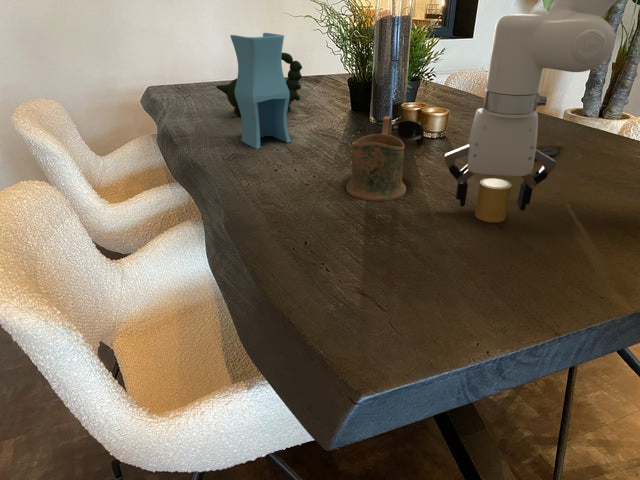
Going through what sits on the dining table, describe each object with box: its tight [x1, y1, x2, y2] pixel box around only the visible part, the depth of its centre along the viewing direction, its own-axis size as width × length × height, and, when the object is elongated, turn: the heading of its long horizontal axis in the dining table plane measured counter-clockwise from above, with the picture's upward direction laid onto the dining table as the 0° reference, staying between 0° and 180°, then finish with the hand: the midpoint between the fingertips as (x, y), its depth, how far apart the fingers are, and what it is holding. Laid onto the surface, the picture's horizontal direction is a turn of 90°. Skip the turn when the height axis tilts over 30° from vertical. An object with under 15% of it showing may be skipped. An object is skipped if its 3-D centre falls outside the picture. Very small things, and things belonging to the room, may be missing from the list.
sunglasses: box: [373, 119, 425, 146], centre depth 120 cm, size 10×12×5 cm
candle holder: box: [474, 177, 512, 223], centre depth 82 cm, size 5×5×6 cm
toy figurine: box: [215, 52, 303, 117], centre depth 145 cm, size 9×19×25 cm
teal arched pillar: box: [229, 32, 292, 150], centre depth 119 cm, size 10×10×25 cm
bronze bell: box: [345, 115, 407, 202], centre depth 95 cm, size 12×18×12 cm, turn 163°
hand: (490, 205), depth 83 cm, fingers open, 9 cm apart
